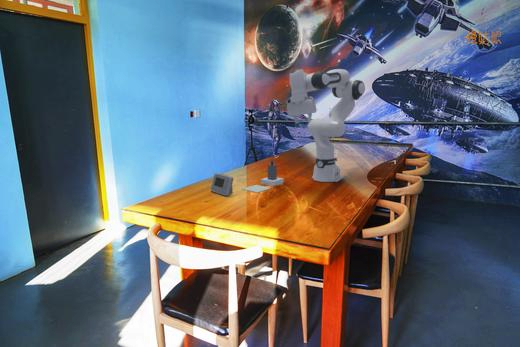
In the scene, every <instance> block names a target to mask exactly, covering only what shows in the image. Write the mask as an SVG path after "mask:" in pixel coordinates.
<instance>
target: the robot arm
mask: <svg viewBox="0 0 520 347" xmlns="http://www.w3.org/2000/svg"><path fill="white" fill-rule="evenodd" d="M350 79H351V76H350V72H349V71H348V70H347V69H344V68H343V69H342V68H336V69H331V70H328V71H324V70H318V71H316V72H312V73H306V72H305V71H304V69H303V68H299V69H293V70H291V71H290V72H289V85H290V88H291V97H289V98H288V99H287V100H286V101H285V103H286V112H287V116H288V117H292V118H293V119H294V121H295V124H300V120H299V119H298V116H302V115H307V116H308V117H307V119H306V122H307V124H308V125H307V130H308V133H309V134H310V135H311V136H312V137H313V139H314V142H315V147H316V150H315V151H316V155H315V156H316V157H315V165H313V166H314V167H313V175H312V176H311V178H312V179H313V180H314V181H316V182H322V183H333V182H335V183H336V182H337V183H338V182H339V181H340V180H343V179H344V178H345V176H344V175H342V174H341V168H340V167H339V166H338V165H337V164H336V162H337V161H338V158H337V157H335V145H334V144H333V143H332V142H331V141H330V139H329V138H338V137H342V136H343V135H344V133H345V132H346V124H345V121H346V120H347V118H348V117H349V116H350V115H351V113H352V112H353V111H354V109H355V106H356V101H358V100H360V98H361V97H362V96H363V94H364V93H365V90H366V87H365V86H366V85H365V83H364V82H363V81H362V80H360V79H354V80H353V79H352V80H350ZM326 88H331V92H332V95H333V96H334V97H335V98H338V99H340V100H339V101H338V102H337V103H335V105H334V106H333V107H332V108H331V109H330V111H329V113H328V117H329V118H313V119H312V117H313V114H314V113H317V111H318V109H317V105H316V101H315V98H314V97H313V96H308V93H309V92H313V91H319V90H324V89H326Z"/></svg>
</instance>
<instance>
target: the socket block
mask: <svg viewBox="0 0 520 347" xmlns="http://www.w3.org/2000/svg"><path fill="white" fill-rule="evenodd" d="M284 181H285V180H284V178H283V177H278V176H277V179H275V180H269V179H268V176H267V177H264V178H260V184H261V185H265V186H268V187H276V186H279V185H283V184H284Z"/></svg>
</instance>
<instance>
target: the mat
mask: <svg viewBox="0 0 520 347" xmlns="http://www.w3.org/2000/svg"><path fill="white" fill-rule="evenodd" d="M241 189H242V190H244V191H247V192H252V193H256V194H257V193H258V194H259V193H261V192H264V191H265V192H266V191H267V190H270V189H271V187H270V186H262V185H258V184H254V185H251V186H247V187H243V188H241Z"/></svg>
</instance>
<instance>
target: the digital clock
mask: <svg viewBox="0 0 520 347" xmlns="http://www.w3.org/2000/svg"><path fill="white" fill-rule="evenodd" d="M211 182H212V183H211V186H210V191H211V192H212V193H215V194H218V195H220V196H225V197H229V196H230V195H232V194H233V193H234V192H233V191H234V190H233V182H234V177H233V176H230V175H227V174H224V173H218V172H215V173H214V175H213V178H212V181H211Z"/></svg>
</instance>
